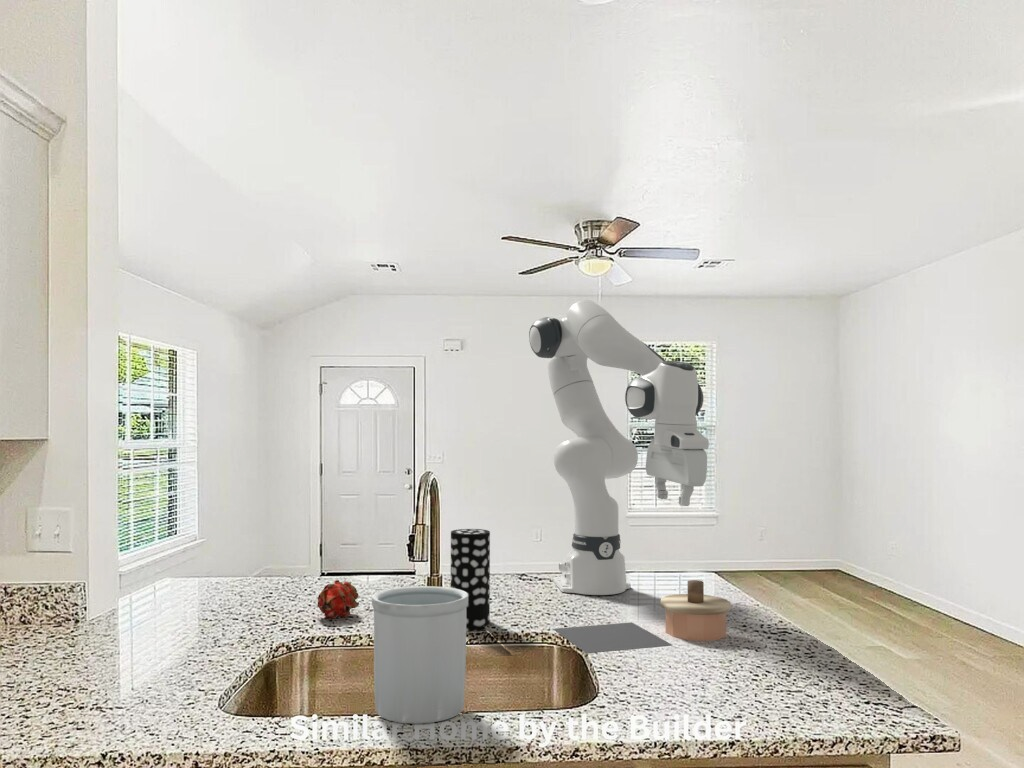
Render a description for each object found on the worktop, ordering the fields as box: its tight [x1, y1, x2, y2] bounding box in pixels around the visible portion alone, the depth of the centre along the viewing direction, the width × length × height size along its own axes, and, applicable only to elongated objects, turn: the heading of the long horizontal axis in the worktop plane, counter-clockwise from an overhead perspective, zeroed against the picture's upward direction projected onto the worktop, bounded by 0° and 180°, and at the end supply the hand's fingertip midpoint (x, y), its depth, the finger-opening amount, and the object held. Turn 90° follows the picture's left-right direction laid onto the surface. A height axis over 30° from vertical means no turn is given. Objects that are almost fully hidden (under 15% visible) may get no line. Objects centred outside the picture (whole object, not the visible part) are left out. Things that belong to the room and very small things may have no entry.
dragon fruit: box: [316, 579, 360, 620], centre depth 188 cm, size 8×8×12 cm
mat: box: [552, 621, 673, 654], centre depth 170 cm, size 18×18×1 cm
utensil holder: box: [371, 585, 468, 725], centre depth 132 cm, size 15×15×18 cm
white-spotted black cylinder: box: [450, 528, 491, 632], centre depth 181 cm, size 8×8×20 cm
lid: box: [660, 579, 732, 615], centre depth 173 cm, size 14×14×5 cm
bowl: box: [665, 609, 727, 642], centre depth 173 cm, size 12×12×6 cm
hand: (672, 502), depth 181 cm, fingers open, 8 cm apart
